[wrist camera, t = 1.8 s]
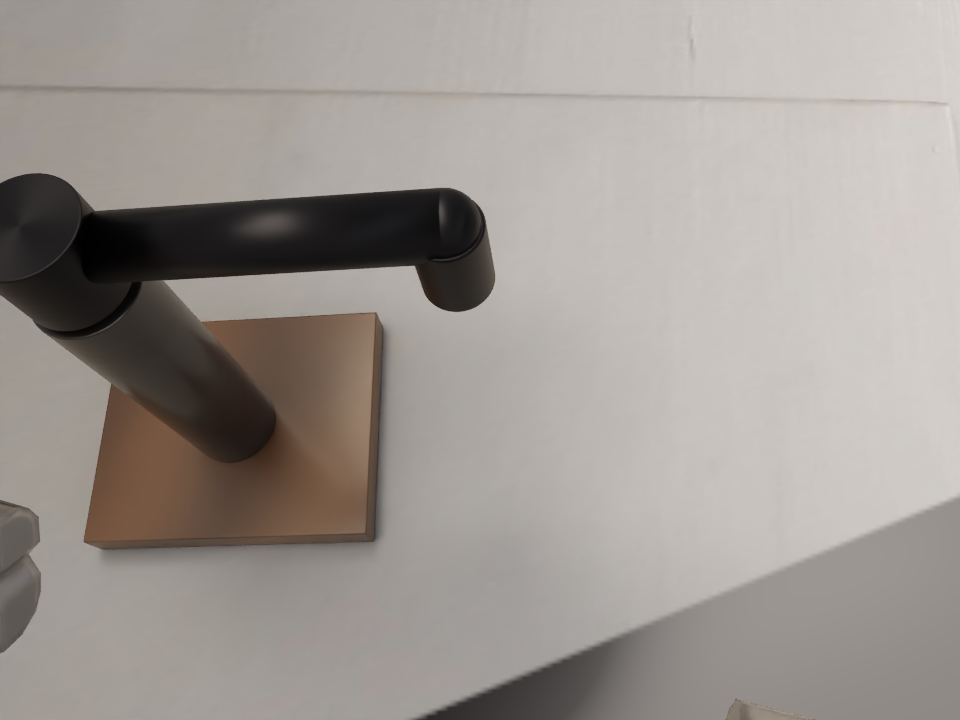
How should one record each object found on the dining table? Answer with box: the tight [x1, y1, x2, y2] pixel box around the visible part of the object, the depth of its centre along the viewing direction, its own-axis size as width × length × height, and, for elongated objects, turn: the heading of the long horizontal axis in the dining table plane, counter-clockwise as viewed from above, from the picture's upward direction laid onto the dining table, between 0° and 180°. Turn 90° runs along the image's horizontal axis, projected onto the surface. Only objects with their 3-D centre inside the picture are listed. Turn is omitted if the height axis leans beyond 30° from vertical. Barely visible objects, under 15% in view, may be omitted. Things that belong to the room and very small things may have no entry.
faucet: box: [33, 280, 383, 549], centre depth 32 cm, size 12×10×14 cm
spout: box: [0, 173, 495, 331], centre depth 24 cm, size 14×3×4 cm, turn 91°
